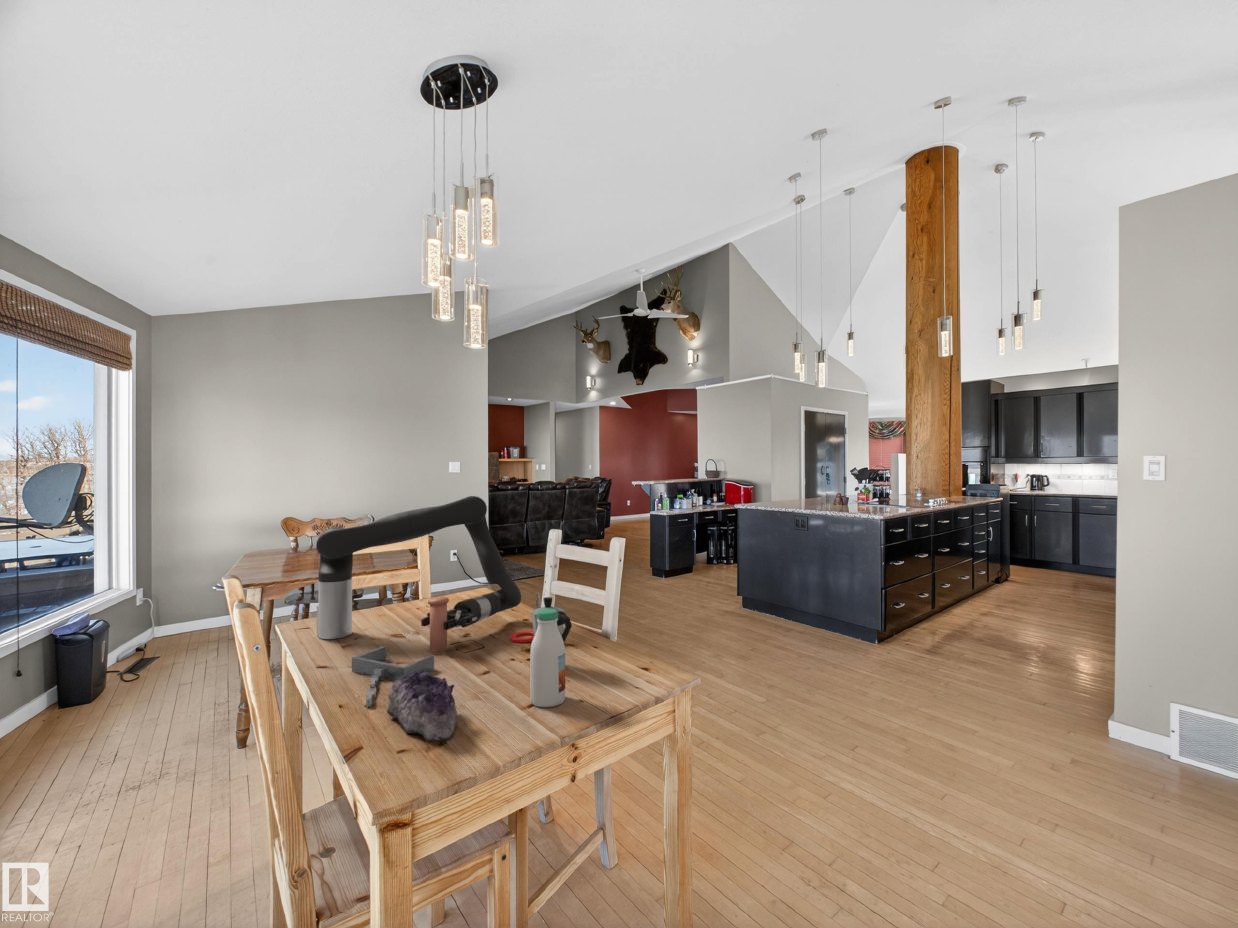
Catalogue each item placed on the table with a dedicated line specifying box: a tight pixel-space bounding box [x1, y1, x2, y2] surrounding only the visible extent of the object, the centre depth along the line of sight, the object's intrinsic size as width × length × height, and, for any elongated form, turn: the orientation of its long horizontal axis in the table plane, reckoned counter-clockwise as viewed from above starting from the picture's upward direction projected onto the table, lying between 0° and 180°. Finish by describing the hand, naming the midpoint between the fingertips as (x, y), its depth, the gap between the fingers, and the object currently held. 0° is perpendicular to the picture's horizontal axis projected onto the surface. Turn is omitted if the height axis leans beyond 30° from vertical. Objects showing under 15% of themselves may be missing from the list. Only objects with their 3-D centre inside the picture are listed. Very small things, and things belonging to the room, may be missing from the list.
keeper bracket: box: [351, 645, 435, 682], centre depth 140 cm, size 18×11×4 cm, turn 65°
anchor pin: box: [427, 596, 450, 655], centre depth 155 cm, size 6×6×15 cm
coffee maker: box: [530, 596, 573, 643], centre depth 141 cm, size 15×9×18 cm, turn 47°
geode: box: [386, 671, 458, 743], centre depth 112 cm, size 20×12×10 cm, turn 43°
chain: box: [365, 675, 380, 708], centre depth 127 cm, size 2×17×2 cm, turn 20°
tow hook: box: [509, 592, 542, 644], centre depth 166 cm, size 9×14×10 cm
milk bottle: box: [529, 609, 566, 708], centre depth 122 cm, size 8×8×20 cm
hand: (433, 624), depth 153 cm, fingers open, 8 cm apart
